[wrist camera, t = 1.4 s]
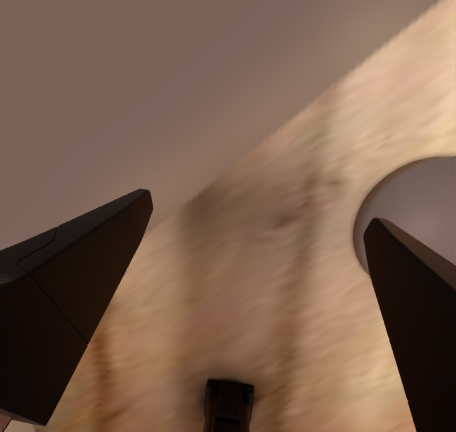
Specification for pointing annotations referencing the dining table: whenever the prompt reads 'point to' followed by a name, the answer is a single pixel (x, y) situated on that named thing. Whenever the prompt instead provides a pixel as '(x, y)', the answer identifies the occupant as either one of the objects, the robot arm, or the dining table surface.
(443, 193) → the grey-brown round disc
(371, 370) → the dining table surface
